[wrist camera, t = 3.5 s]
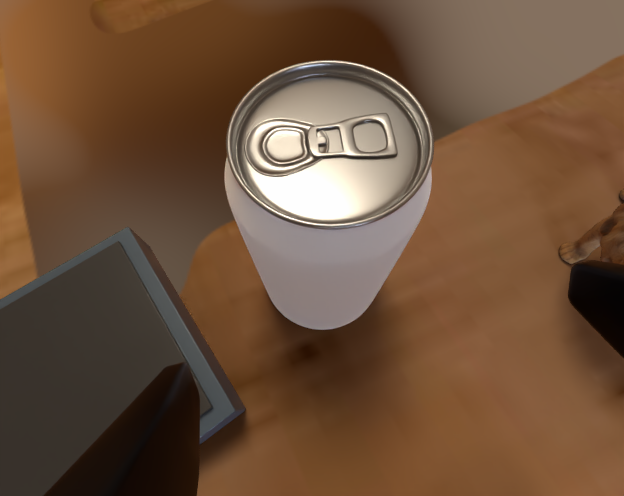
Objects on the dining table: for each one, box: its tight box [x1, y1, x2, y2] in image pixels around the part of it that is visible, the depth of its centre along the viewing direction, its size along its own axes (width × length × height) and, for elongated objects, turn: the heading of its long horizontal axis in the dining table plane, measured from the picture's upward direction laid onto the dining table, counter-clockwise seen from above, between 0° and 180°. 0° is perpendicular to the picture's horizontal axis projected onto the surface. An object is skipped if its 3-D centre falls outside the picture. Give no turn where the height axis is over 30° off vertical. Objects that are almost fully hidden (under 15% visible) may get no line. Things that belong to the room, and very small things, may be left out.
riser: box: [0, 227, 246, 496], centre depth 17 cm, size 11×11×3 cm
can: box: [225, 60, 434, 330], centre depth 15 cm, size 6×6×12 cm
